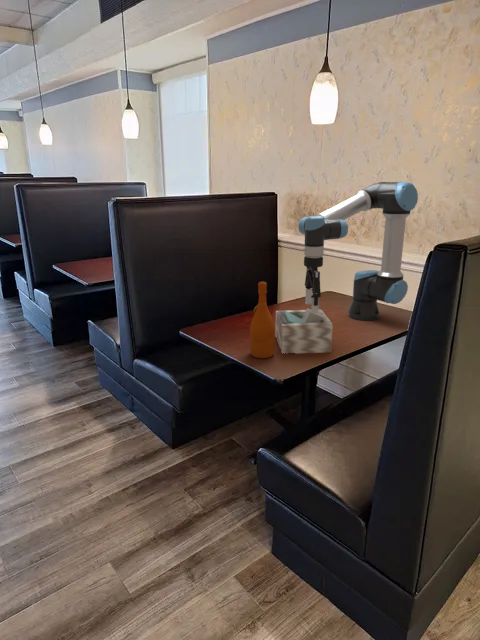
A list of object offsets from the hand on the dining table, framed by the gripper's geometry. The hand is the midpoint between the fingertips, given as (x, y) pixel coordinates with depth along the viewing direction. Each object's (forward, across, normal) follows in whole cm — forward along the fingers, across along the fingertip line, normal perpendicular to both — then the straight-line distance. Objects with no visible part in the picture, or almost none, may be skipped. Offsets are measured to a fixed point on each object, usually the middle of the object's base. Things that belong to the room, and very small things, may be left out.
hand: (311, 308), depth 179 cm
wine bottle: (+16, +10, -22) cm, 29 cm away
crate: (+16, 0, -4) cm, 16 cm away
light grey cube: (+7, 0, -1) cm, 7 cm away
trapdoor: (+7, 0, -4) cm, 8 cm away
